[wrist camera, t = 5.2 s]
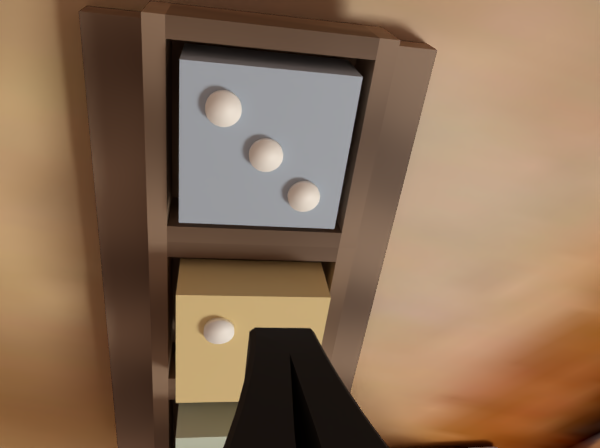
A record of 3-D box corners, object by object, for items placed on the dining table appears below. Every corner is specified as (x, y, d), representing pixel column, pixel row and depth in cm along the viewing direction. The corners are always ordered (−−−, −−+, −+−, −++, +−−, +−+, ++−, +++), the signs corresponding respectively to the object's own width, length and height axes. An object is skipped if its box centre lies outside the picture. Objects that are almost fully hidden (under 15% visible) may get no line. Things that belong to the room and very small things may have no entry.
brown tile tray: (332, 431, 28) (343, 484, 25) (122, 438, 26) (110, 495, 23) (430, 28, 17) (466, 48, 14) (85, -13, 15) (57, 2, 13)
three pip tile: (324, 200, 18) (335, 232, 16) (182, 193, 17) (178, 225, 16) (347, 59, 16) (364, 78, 14) (184, 43, 15) (178, 61, 13)
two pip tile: (303, 360, 21) (311, 404, 19) (179, 361, 20) (175, 407, 18) (321, 262, 18) (332, 301, 17) (180, 258, 18) (175, 299, 16)
